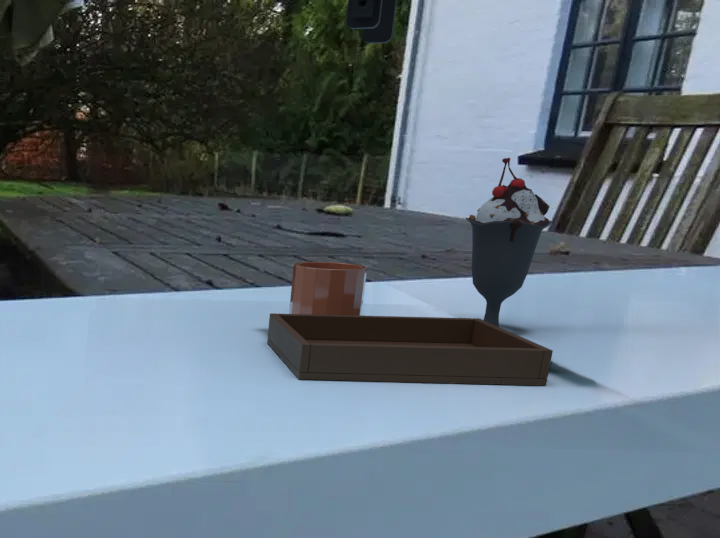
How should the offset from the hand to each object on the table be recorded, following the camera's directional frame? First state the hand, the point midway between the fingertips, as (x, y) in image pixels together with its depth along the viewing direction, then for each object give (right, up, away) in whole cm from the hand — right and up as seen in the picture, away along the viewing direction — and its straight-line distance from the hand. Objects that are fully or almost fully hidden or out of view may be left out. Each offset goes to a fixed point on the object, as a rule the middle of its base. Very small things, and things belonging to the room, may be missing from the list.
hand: (369, 35), depth 68 cm
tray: (+3, -24, +3) cm, 24 cm away
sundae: (+14, -21, +12) cm, 28 cm away
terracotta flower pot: (0, -20, +13) cm, 24 cm away
